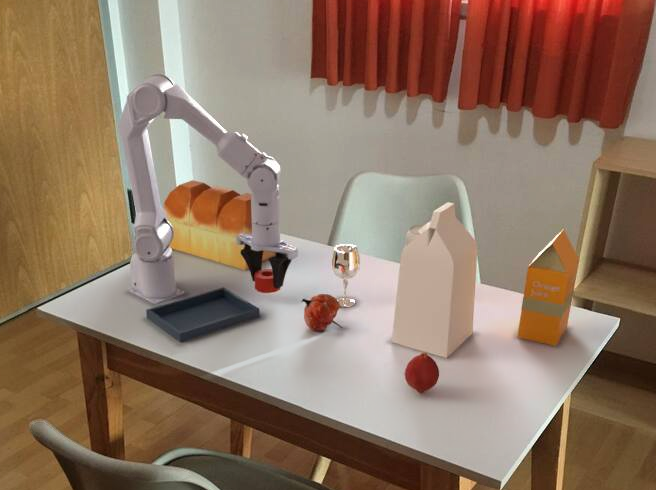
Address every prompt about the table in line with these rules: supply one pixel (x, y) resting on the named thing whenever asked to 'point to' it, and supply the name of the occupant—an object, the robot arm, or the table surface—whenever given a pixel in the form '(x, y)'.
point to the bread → (210, 222)
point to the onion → (422, 373)
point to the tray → (202, 314)
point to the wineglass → (345, 268)
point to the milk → (436, 286)
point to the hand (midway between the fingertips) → (267, 283)
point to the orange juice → (549, 292)
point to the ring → (264, 281)
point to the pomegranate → (320, 311)
